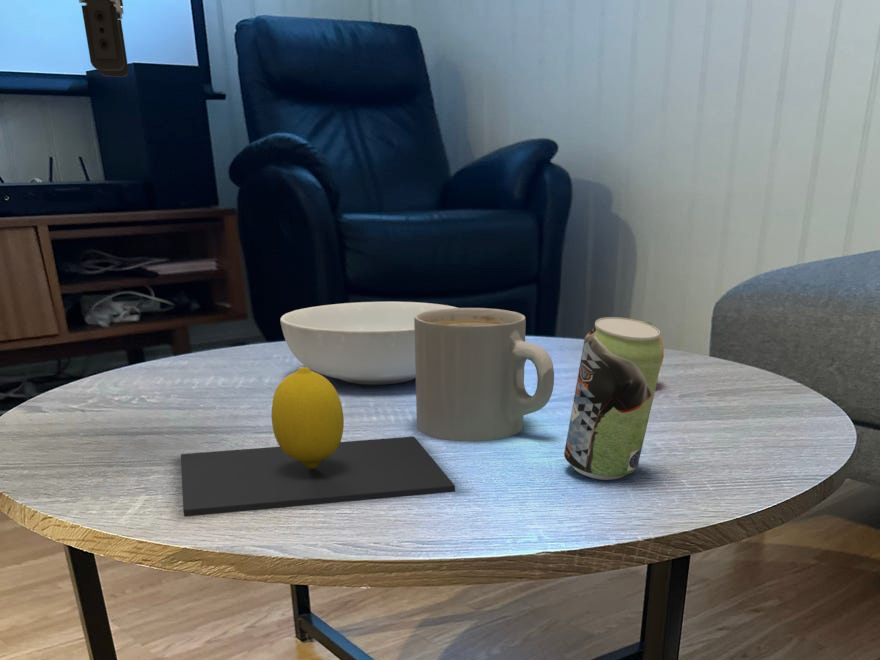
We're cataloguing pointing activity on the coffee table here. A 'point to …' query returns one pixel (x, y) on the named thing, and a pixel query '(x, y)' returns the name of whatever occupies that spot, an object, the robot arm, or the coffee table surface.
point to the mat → (308, 476)
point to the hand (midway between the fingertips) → (111, 73)
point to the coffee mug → (476, 373)
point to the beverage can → (613, 397)
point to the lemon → (307, 417)
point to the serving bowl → (357, 340)
